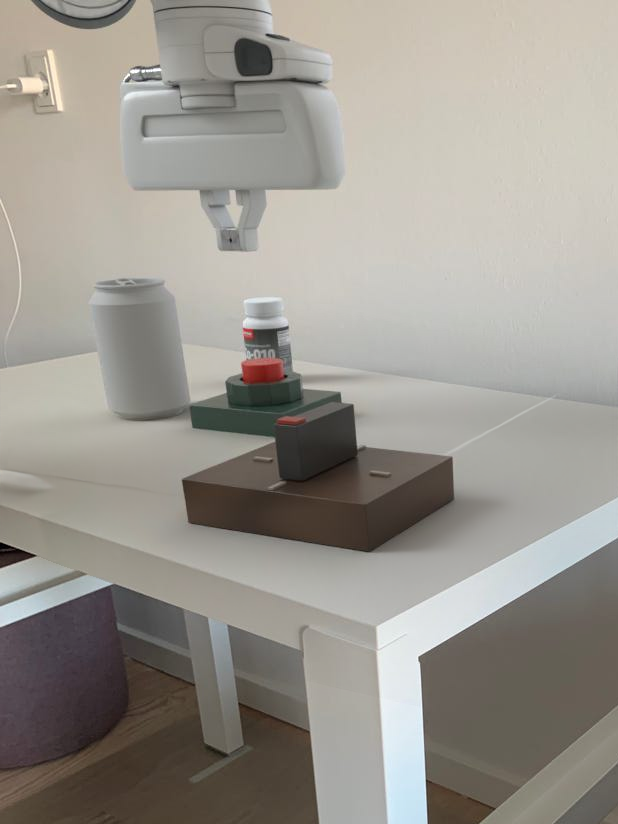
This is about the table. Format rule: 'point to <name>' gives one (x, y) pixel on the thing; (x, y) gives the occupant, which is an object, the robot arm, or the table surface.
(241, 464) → the brown wooden base
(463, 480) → the table surface
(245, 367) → the button
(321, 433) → the dark grey rectangular block
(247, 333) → the pill bottle
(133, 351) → the can
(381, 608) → the table surface
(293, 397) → the button box
